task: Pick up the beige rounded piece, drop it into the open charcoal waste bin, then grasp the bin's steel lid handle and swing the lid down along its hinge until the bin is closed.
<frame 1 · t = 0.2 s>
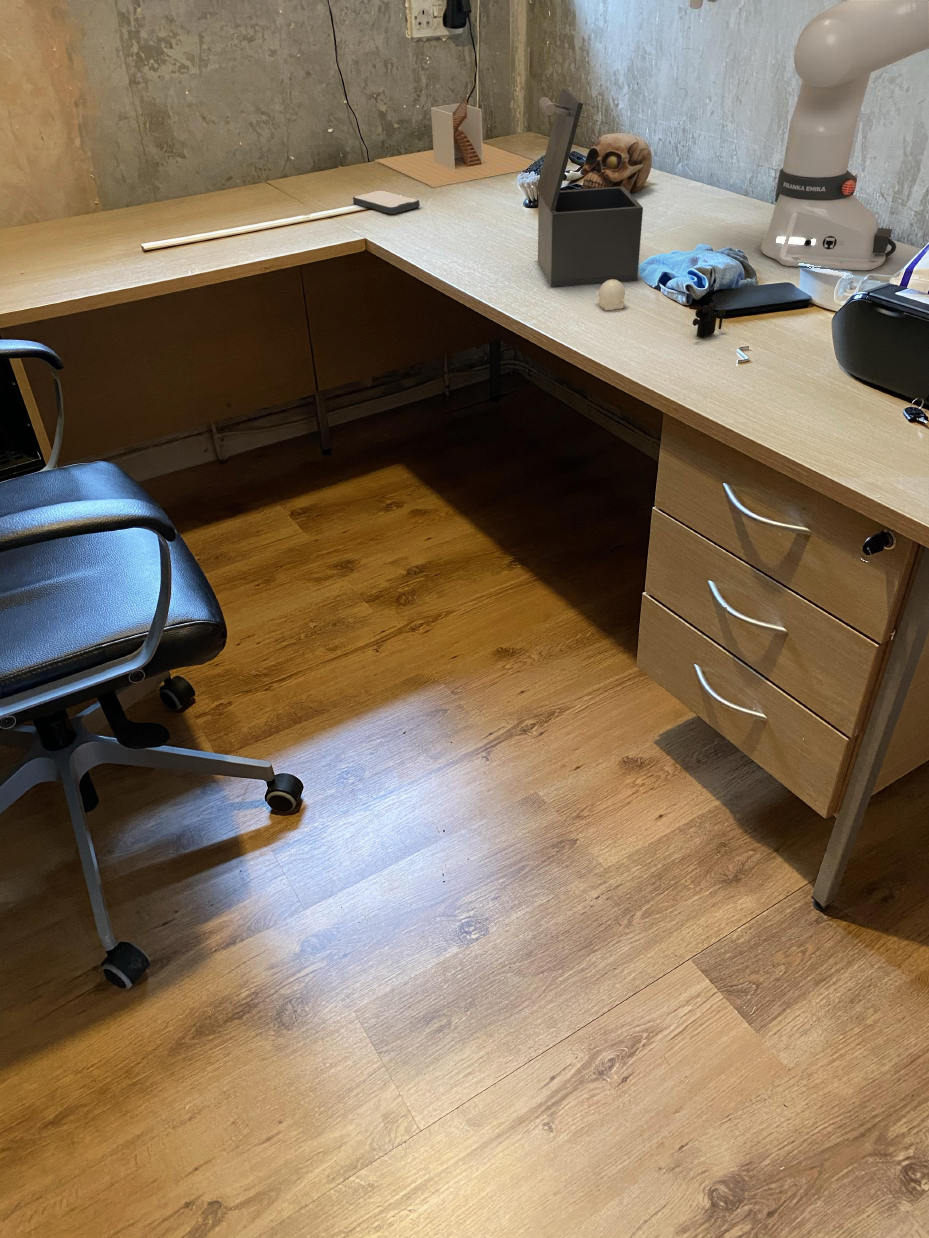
hand: (703, 5, 156), 39 cm above the table, tool pointing down, fingers open, 8 cm apart
waste bin: (586, 270, 168), on the table
beige rounded piece: (611, 306, 154), on the table
staircase: (458, 163, 237), on the table
black knobbed bracket: (703, 336, 143), on the table
brown skull: (611, 195, 208), on the table
bin lid: (546, 146, 154), point 21 cm above the table, hinge at 75.0°
phone case: (386, 206, 208), on the table
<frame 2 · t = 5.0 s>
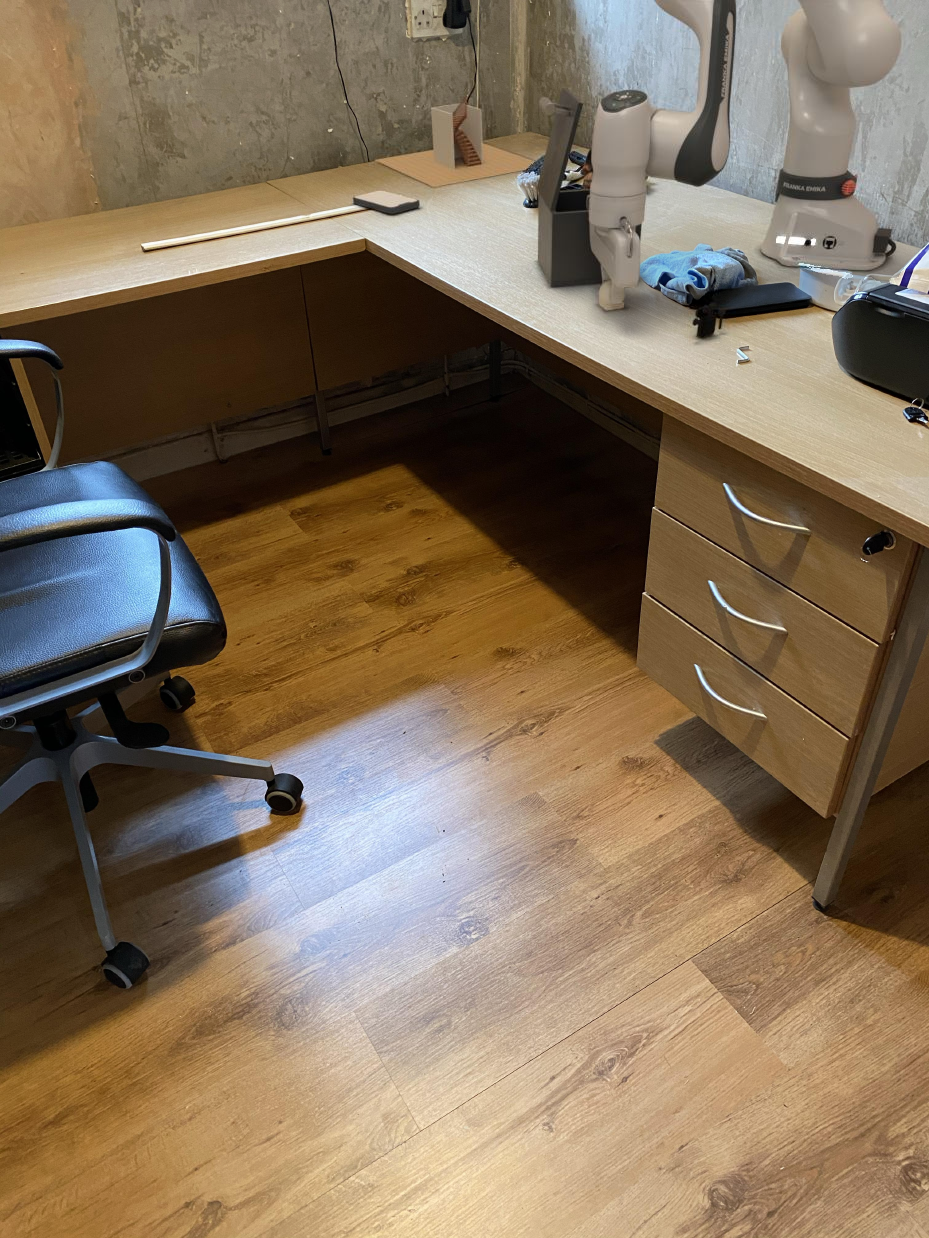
hand: (611, 296, 153), 2 cm above the table, tool pointing down, fingers closed on beige rounded piece, 4 cm apart
beige rounded piece: (611, 306, 154), on the table, touching gripper
everything else where it was.
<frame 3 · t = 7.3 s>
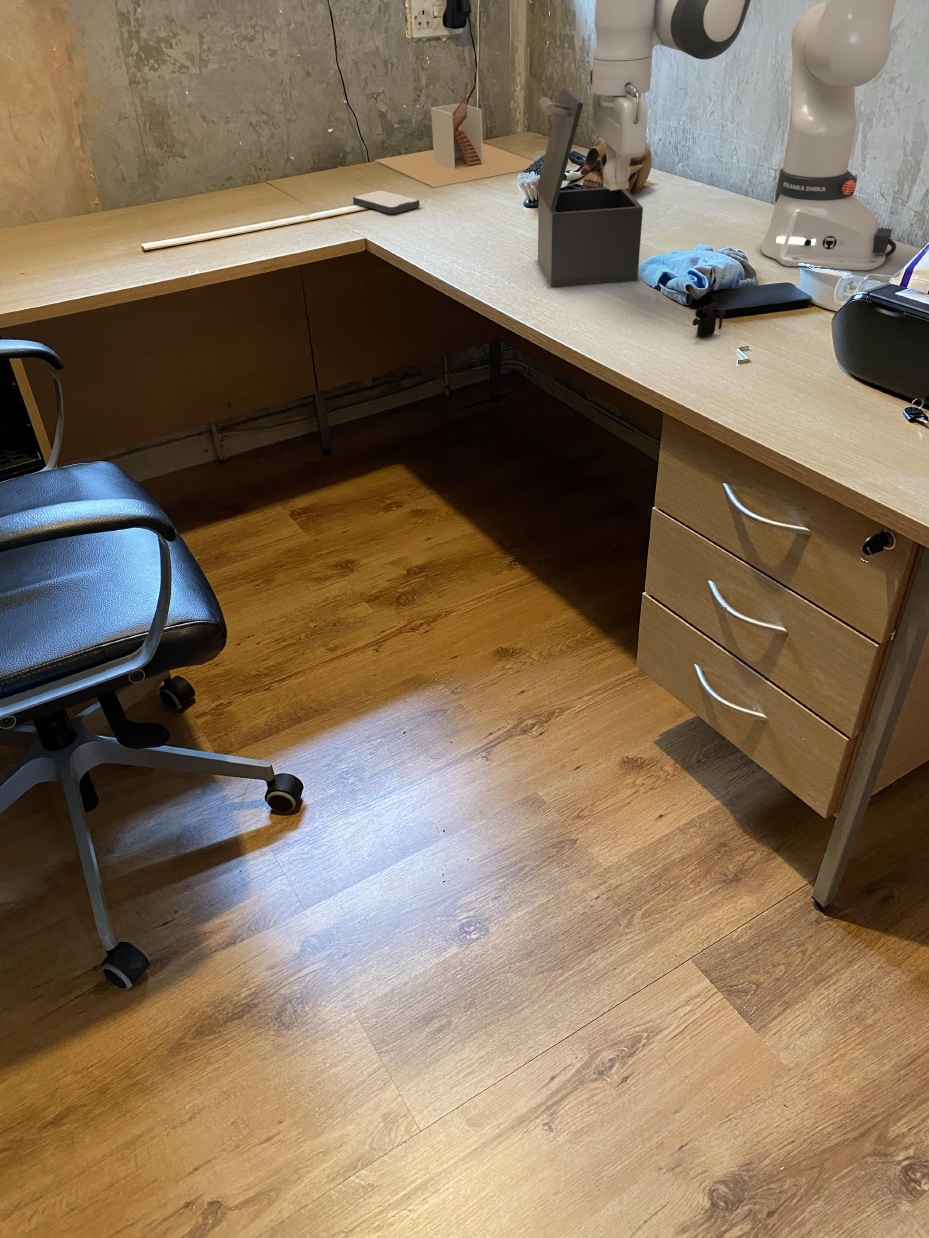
hand: (616, 175, 148), 19 cm above the table, tool pointing down, fingers closed on beige rounded piece, 4 cm apart
beige rounded piece: (615, 187, 149), point 17 cm above the table, touching gripper
everything else where it was.
when the fingers open (15 cm above the table, at t = 10.0 s): beige rounded piece drops 11 cm and tips over, resting on waste bin.
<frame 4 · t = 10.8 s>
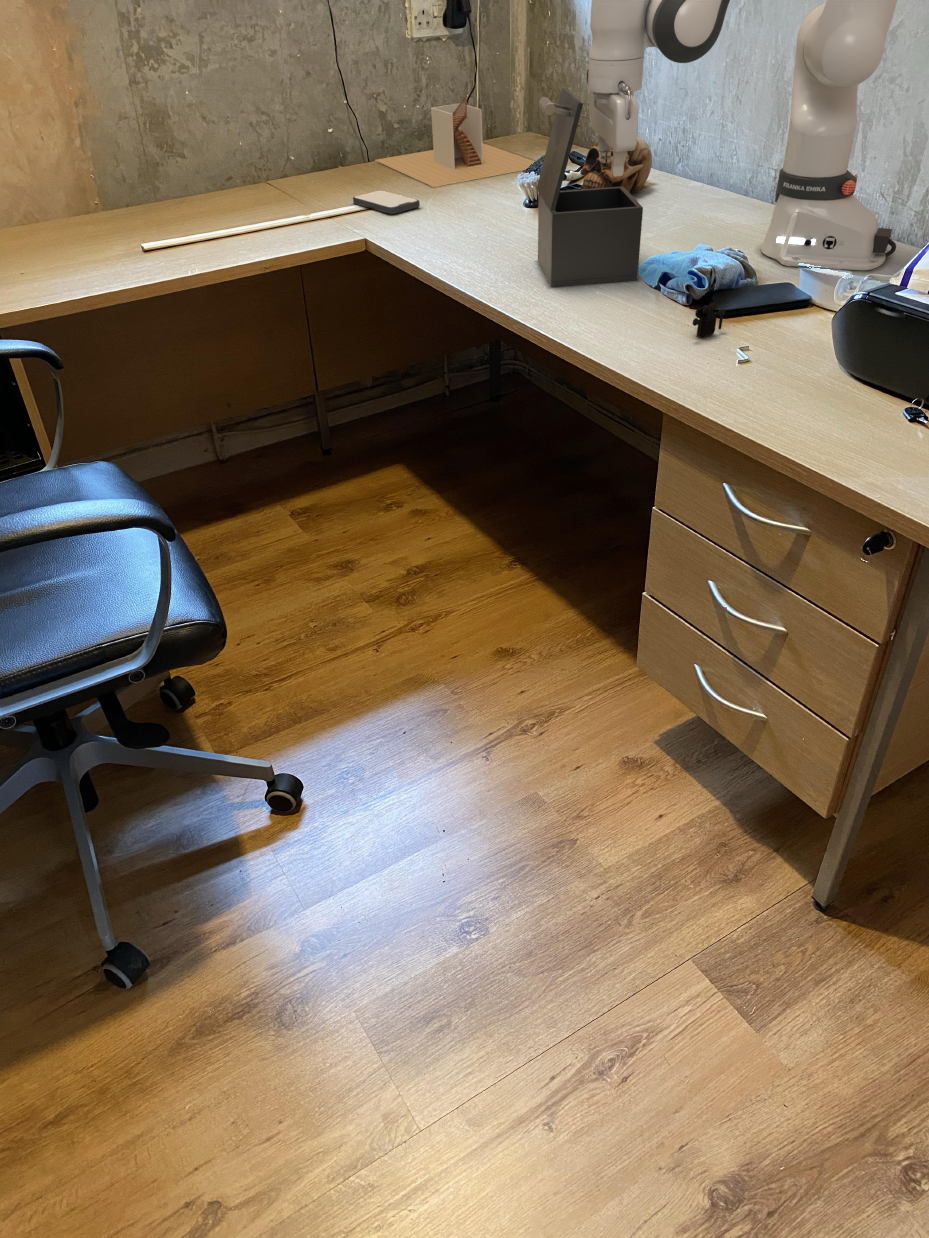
hand: (610, 168, 158), 17 cm above the table, tool pointing down, fingers open, 8 cm apart
beige rounded piece: (607, 257, 166), point 3 cm above the table, tilted 74°, touching waste bin
everything else where it was.
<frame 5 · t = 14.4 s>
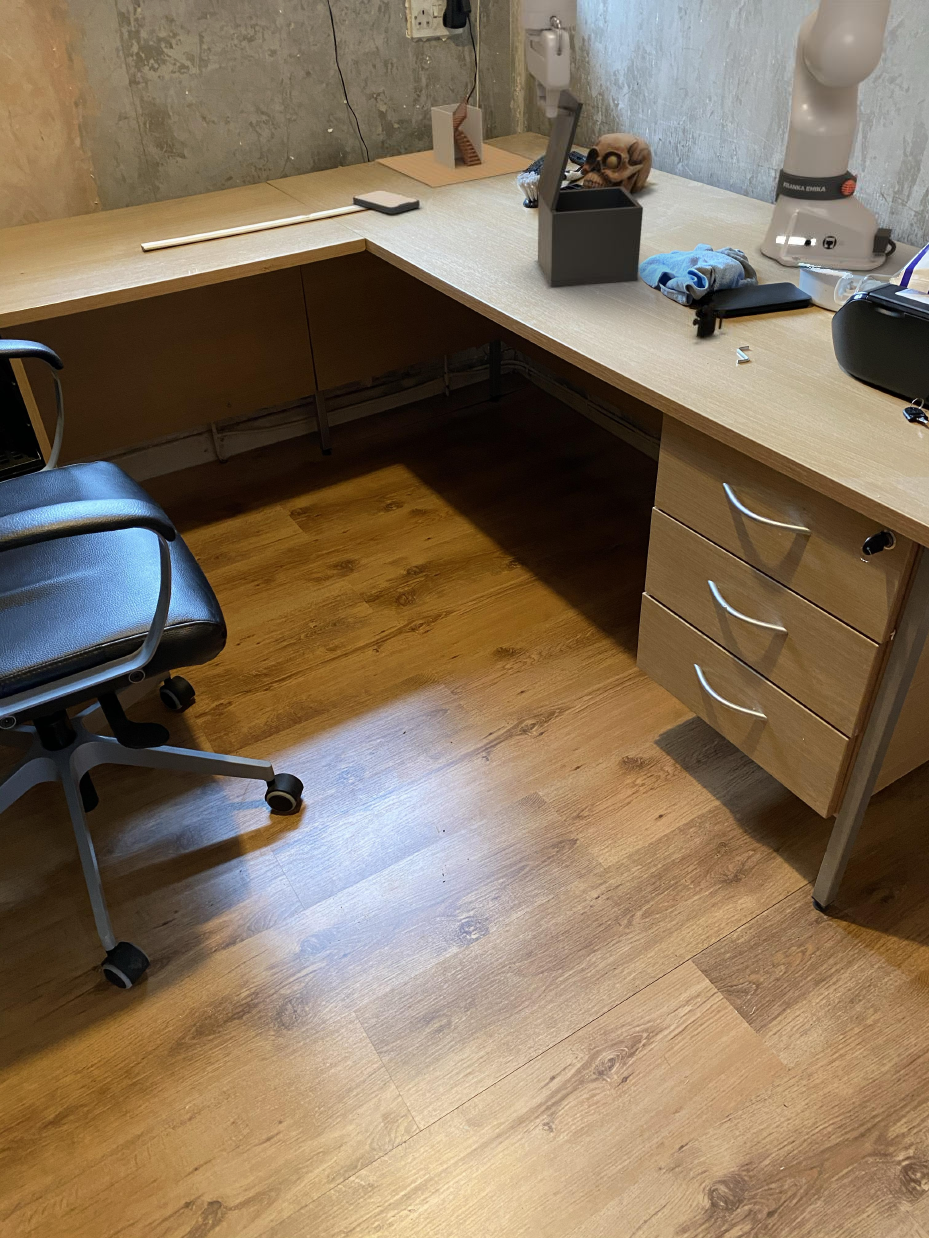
hand: (547, 112, 151), 27 cm above the table, tool pointing down, fingers closed on bin lid, 6 cm apart
bin lid: (546, 146, 154), point 21 cm above the table, hinge at 75.0°, touching gripper
everything else where it was.
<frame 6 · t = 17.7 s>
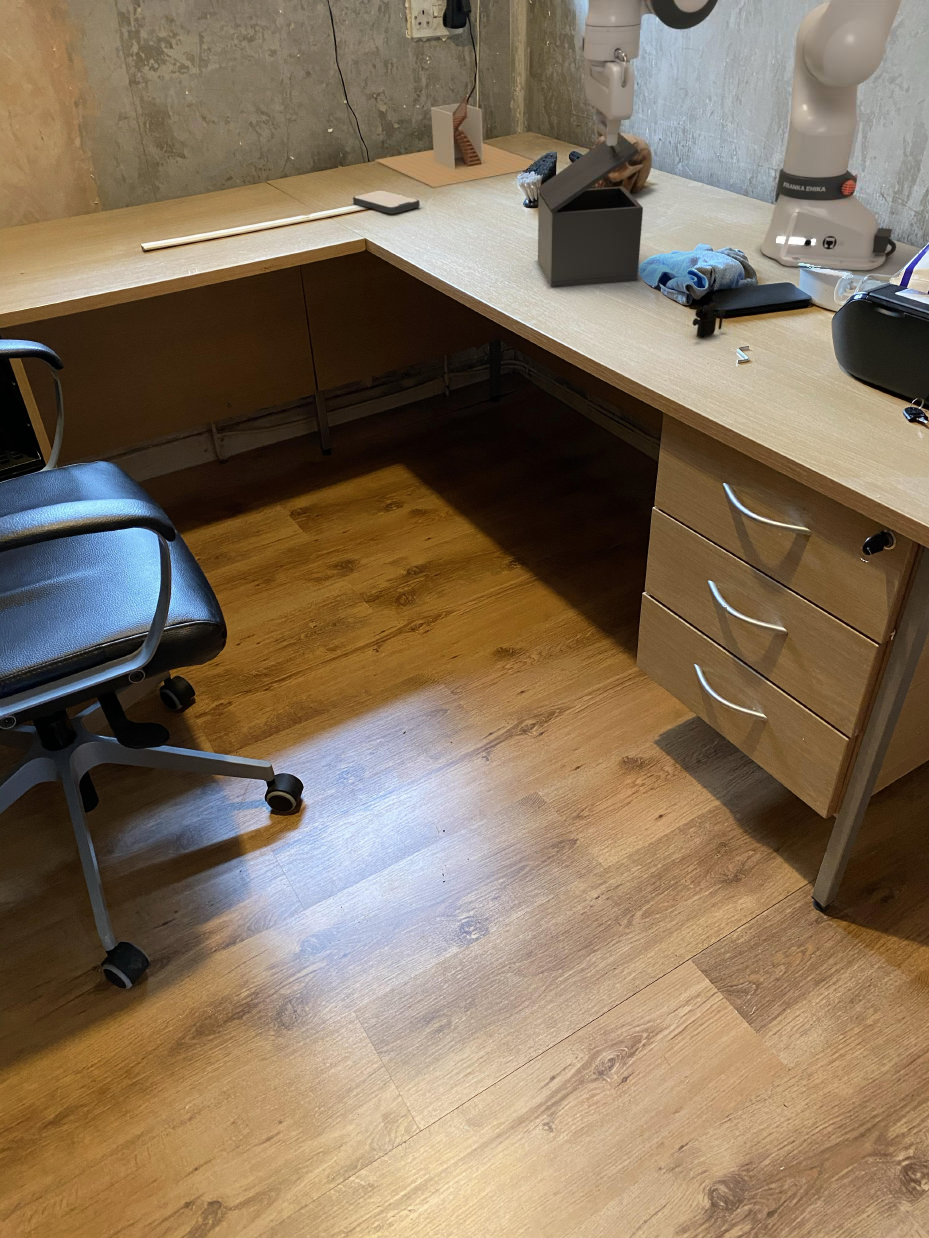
hand: (605, 140, 155), 22 cm above the table, tool pointing down, fingers closed on bin lid, 6 cm apart
bin lid: (580, 160, 156), point 19 cm above the table, hinge at 30.8°, touching gripper
everything else where it was.
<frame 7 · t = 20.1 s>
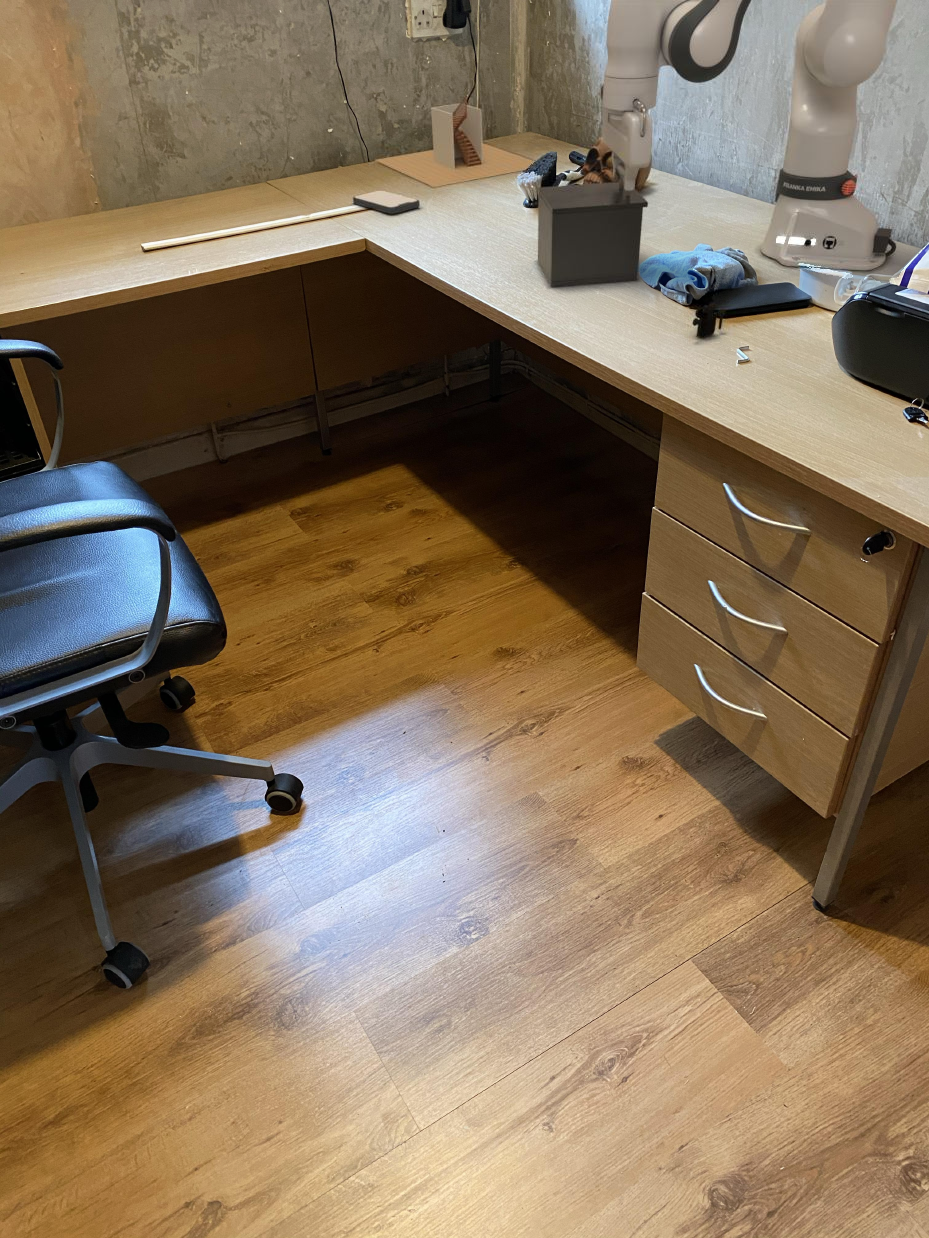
hand: (623, 184, 159), 15 cm above the table, tool pointing down, fingers closed on bin lid, 6 cm apart
bin lid: (592, 184, 159), point 15 cm above the table, hinge at -0.2°, touching gripper, waste bin
everything else where it was.
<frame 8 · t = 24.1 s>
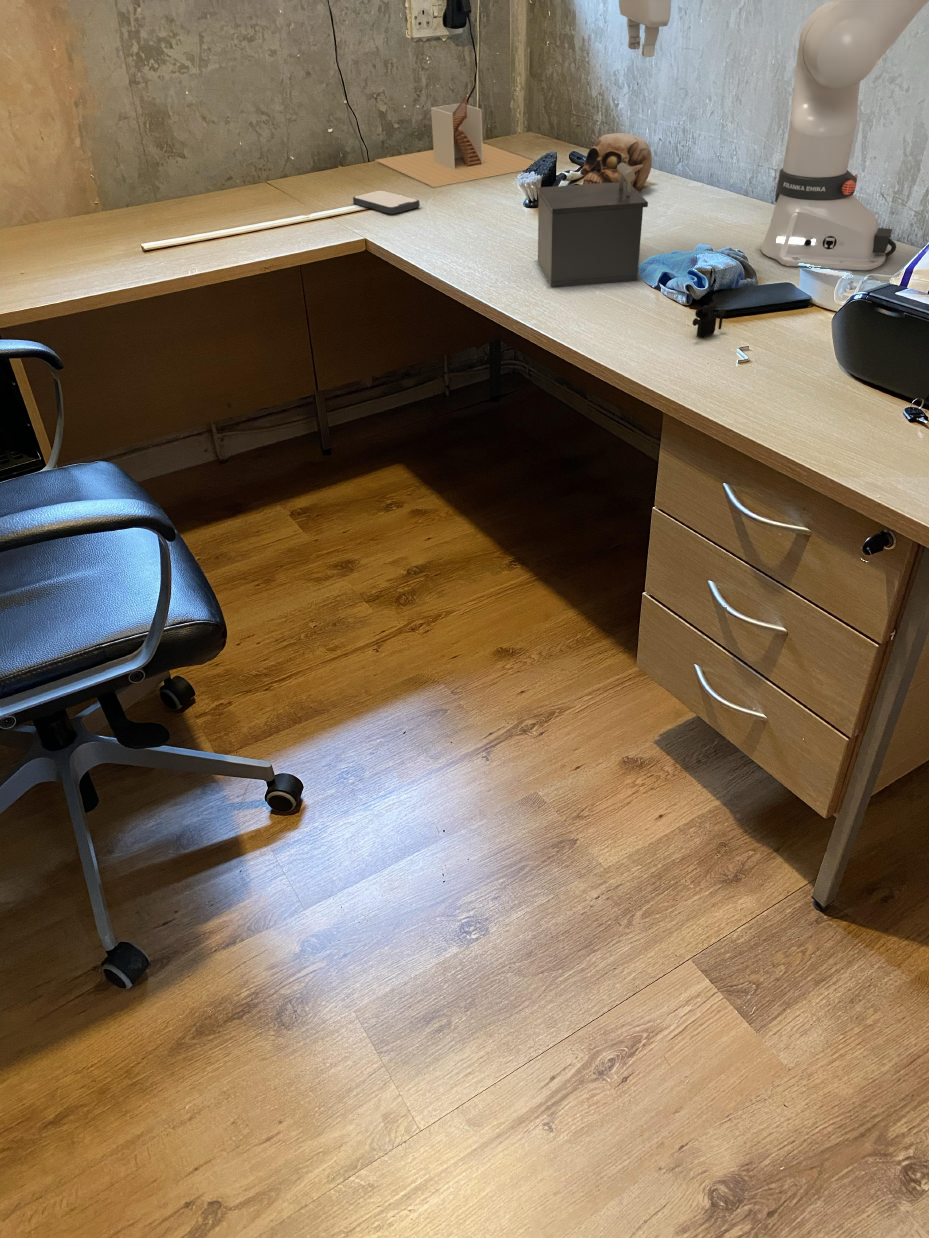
hand: (640, 53, 155), 33 cm above the table, tool pointing down, fingers open, 8 cm apart
bin lid: (592, 184, 159), point 15 cm above the table, hinge at -0.2°, touching waste bin
everything else where it was.
at the end: beige rounded piece inside the target area in the waste bin (3.8 cm from its centre), point 2.4 cm above the waste bin's base; bin lid at +0° (first picture: +75°) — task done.
